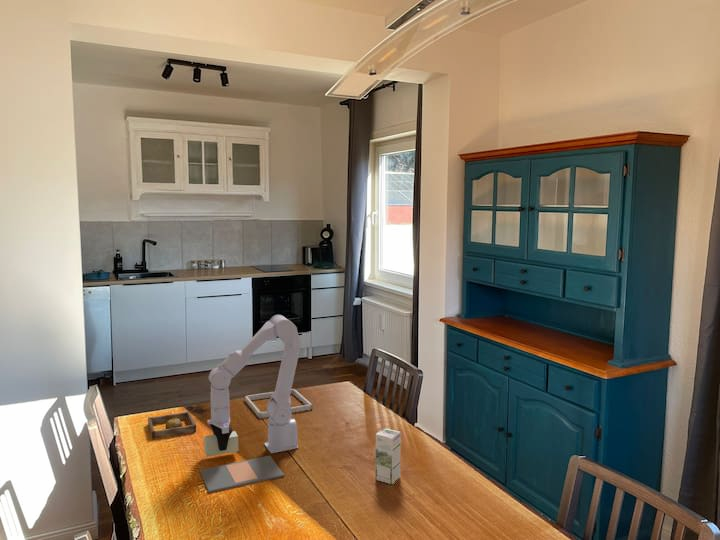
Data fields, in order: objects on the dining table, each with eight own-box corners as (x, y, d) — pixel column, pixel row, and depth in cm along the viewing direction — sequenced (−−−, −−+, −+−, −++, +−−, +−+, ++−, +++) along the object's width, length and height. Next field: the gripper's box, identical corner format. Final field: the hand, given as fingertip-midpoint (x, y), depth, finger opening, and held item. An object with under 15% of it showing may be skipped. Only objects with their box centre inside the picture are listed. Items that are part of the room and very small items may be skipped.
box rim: (294, 393, 236) (294, 388, 236) (312, 409, 217) (312, 404, 216) (244, 400, 226) (244, 395, 226) (259, 418, 207) (259, 413, 207)
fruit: (174, 436, 191) (173, 426, 190) (159, 431, 195) (158, 421, 195) (193, 428, 198) (192, 419, 197) (178, 423, 202) (177, 414, 202)
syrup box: (400, 477, 162) (401, 430, 160) (391, 486, 157) (392, 437, 155) (384, 472, 165) (384, 426, 163) (374, 481, 160) (375, 433, 158)
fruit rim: (189, 417, 207) (189, 411, 207) (196, 431, 194) (195, 425, 194) (148, 424, 201) (148, 417, 200) (152, 439, 188) (152, 432, 187)
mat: (270, 457, 175) (270, 455, 175) (284, 476, 162) (284, 474, 162) (199, 471, 165) (199, 469, 165) (208, 492, 152) (208, 490, 152)
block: (235, 445, 179) (235, 431, 178) (238, 451, 175) (238, 436, 174) (204, 451, 174) (203, 436, 174) (206, 456, 170) (206, 441, 170)
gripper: (202, 400, 177) (204, 440, 179) (212, 415, 165) (213, 458, 166) (224, 397, 181) (225, 436, 182) (235, 411, 168) (236, 454, 169)
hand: (221, 446), depth 174 cm, fingers closed on block, 4 cm apart
